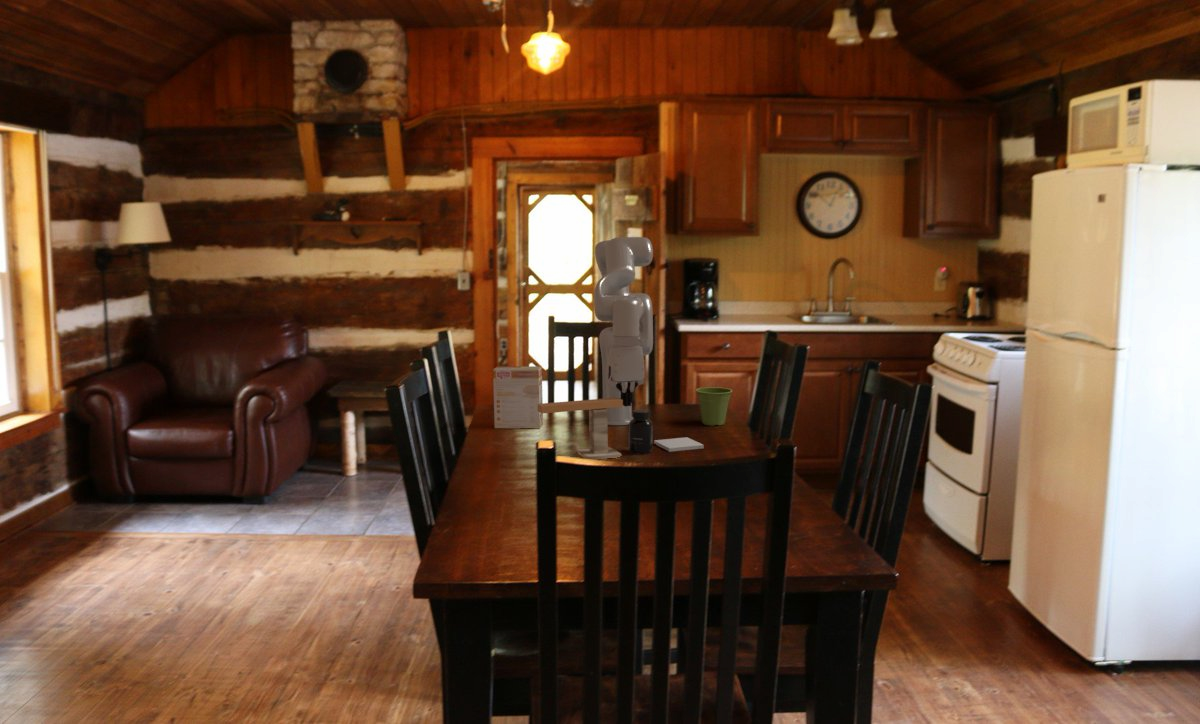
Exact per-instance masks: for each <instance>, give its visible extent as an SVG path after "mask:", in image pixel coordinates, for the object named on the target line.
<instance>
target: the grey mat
mask: <svg viewBox="0 0 1200 724" xmlns="http://www.w3.org/2000/svg"><path fill="white" fill-rule="evenodd" d="M653 444H654V445H655V444H656V445H655V446H657V447H660V448H662V449H663V450H665V451H667V452H670V453H671V452H680V451H690V450H699V449H704V444H702V443H701V442H698V441H696V440H694V439H692V438H691V437H690V438H689V437H687V436H686V437H676V438H666V439H657V440H656V439H655V440H653Z"/></svg>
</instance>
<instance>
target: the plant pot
mask: <svg viewBox="0 0 1200 724" xmlns="http://www.w3.org/2000/svg"><path fill="white" fill-rule="evenodd" d="M695 392H697V398H698V401H699V408H700V409H699V410H700V415H701V416H700V417H701V423H702V424H703V425H705V426H713V427H714V426H716V425H717V426H722V425H725V423H726V419H727V411H728V406H729V401H730V399H731V394H732V393H733V389H731V388H727V387H726V388H725V387H719V386H718V387H716V386H715V387H714V386H711V387H710V386H708V387H707V386H706V387H698V388H696V389H695Z"/></svg>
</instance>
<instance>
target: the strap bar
mask: <svg viewBox="0 0 1200 724" xmlns="http://www.w3.org/2000/svg"><path fill="white" fill-rule="evenodd" d="M615 407H623V400H622V399H620V398H606V399H603V398H594V399H581V400H572V401H571V400H569V401H557V402H547V403H546V402H544V403H542V404H538V411H539V412H540V413H543V414H551V413H565V412H566V413H567V412H575V411H577V412H579V411H589V410H591V409H603V408H615Z"/></svg>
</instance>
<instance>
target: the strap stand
mask: <svg viewBox="0 0 1200 724" xmlns="http://www.w3.org/2000/svg"><path fill="white" fill-rule="evenodd" d="M588 412H589V413H588V414H589V416H588V417H589V418H588V420H589V421H588V424H589V427H588V428H589V429H588V431H589V447H588V448H587V447H586V448H579V449H578V448H577V449H575V450H576V451H578V452H580V453H581V454H582V455H584V456H583V457H585V458H594V459H602V460H601V461H605V460H608V459H607V458H616V459H618V458H617V457H620V456H623V455H622V453H621V452H619V451H618V450H616V449H614V448H612V447H611V446H608V445H609V444H608V443H609V441H608V440H609V439H608V433H609V432H608V430H609V429H608V426H609V425H607V409H606V408H603V409H591V410H588ZM576 451H575V452H576Z"/></svg>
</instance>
